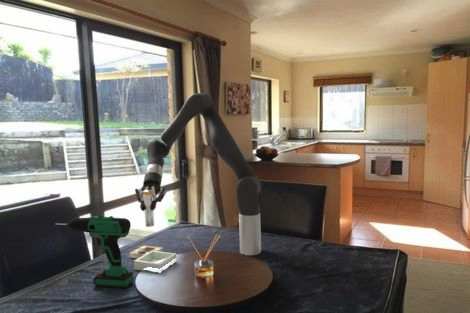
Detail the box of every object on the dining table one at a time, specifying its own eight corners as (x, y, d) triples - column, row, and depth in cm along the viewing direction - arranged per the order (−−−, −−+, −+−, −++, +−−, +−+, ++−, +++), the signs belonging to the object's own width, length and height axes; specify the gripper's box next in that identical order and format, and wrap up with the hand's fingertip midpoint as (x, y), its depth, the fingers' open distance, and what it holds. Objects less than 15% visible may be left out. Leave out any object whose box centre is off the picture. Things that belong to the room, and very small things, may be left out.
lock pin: (148, 224, 158) (146, 189, 156) (156, 224, 156) (153, 189, 155) (143, 226, 154) (141, 191, 153) (151, 227, 153) (148, 191, 152)
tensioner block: (143, 249, 167) (143, 243, 166) (162, 252, 163) (162, 245, 163) (129, 257, 157) (129, 251, 157) (149, 260, 154) (149, 253, 153)
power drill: (127, 289, 127) (123, 218, 125) (54, 284, 133) (48, 216, 131) (135, 282, 133) (131, 214, 130) (64, 277, 139) (59, 212, 136)
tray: (152, 258, 156) (151, 250, 155) (176, 261, 151) (176, 253, 151) (134, 269, 144) (133, 260, 144) (160, 273, 140) (159, 264, 140)
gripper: (135, 172, 161) (128, 205, 150) (167, 170, 160) (162, 204, 149) (140, 182, 167) (133, 215, 156) (170, 180, 166) (166, 214, 155)
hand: (147, 209), depth 153 cm, fingers closed on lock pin, 3 cm apart
